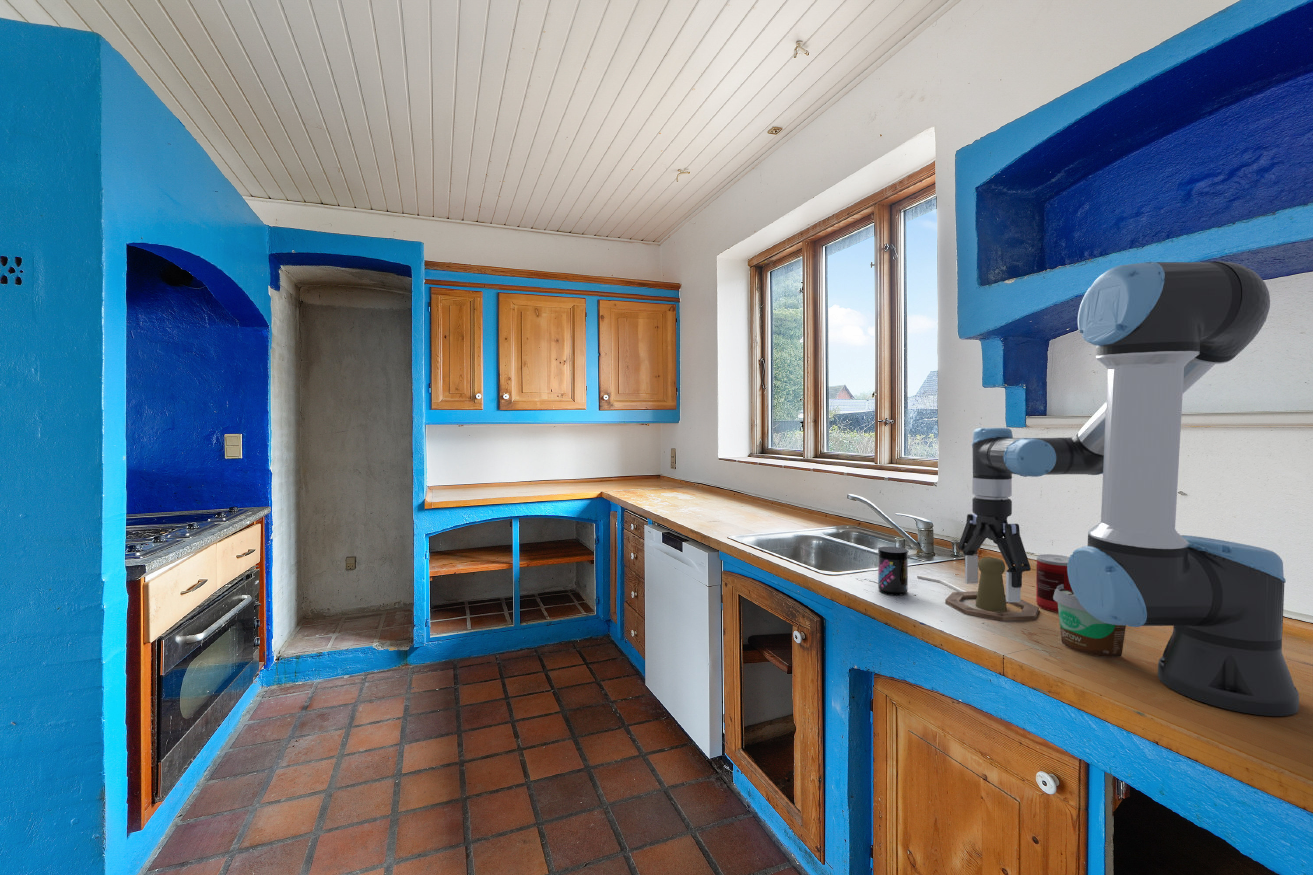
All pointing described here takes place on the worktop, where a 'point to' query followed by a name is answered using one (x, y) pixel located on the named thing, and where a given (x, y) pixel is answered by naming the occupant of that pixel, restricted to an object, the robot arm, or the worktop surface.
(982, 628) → the worktop surface
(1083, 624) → the food container
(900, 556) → the supplement container
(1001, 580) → the olive green pawn
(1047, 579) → the canned food
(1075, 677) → the worktop surface
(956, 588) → the lace cord
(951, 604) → the ring
